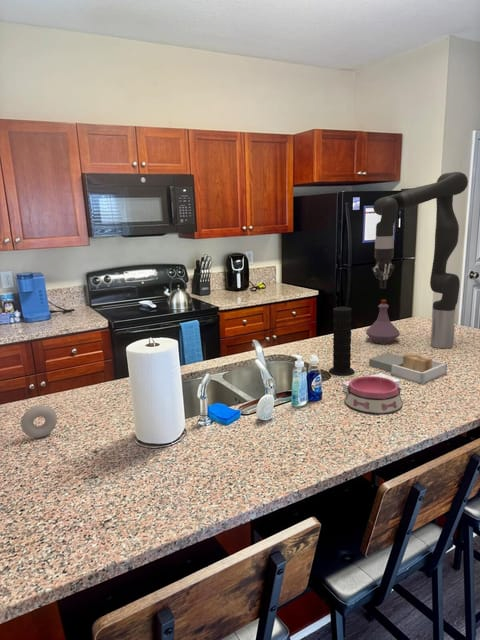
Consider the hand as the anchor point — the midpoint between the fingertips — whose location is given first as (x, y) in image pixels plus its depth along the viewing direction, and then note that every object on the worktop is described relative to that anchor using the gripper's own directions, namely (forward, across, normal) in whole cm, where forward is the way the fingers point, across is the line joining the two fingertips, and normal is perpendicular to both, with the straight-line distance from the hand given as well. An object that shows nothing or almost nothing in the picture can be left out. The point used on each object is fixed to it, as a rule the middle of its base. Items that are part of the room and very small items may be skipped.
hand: (382, 288), depth 188 cm
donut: (+29, -137, +19) cm, 141 cm away
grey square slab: (+29, -11, -13) cm, 34 cm away
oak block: (+25, -11, -20) cm, 34 cm away
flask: (+29, +16, +11) cm, 35 cm away
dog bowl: (+30, -44, -30) cm, 61 cm away
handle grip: (+29, -30, -4) cm, 42 cm away
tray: (+29, -11, -26) cm, 40 cm away
